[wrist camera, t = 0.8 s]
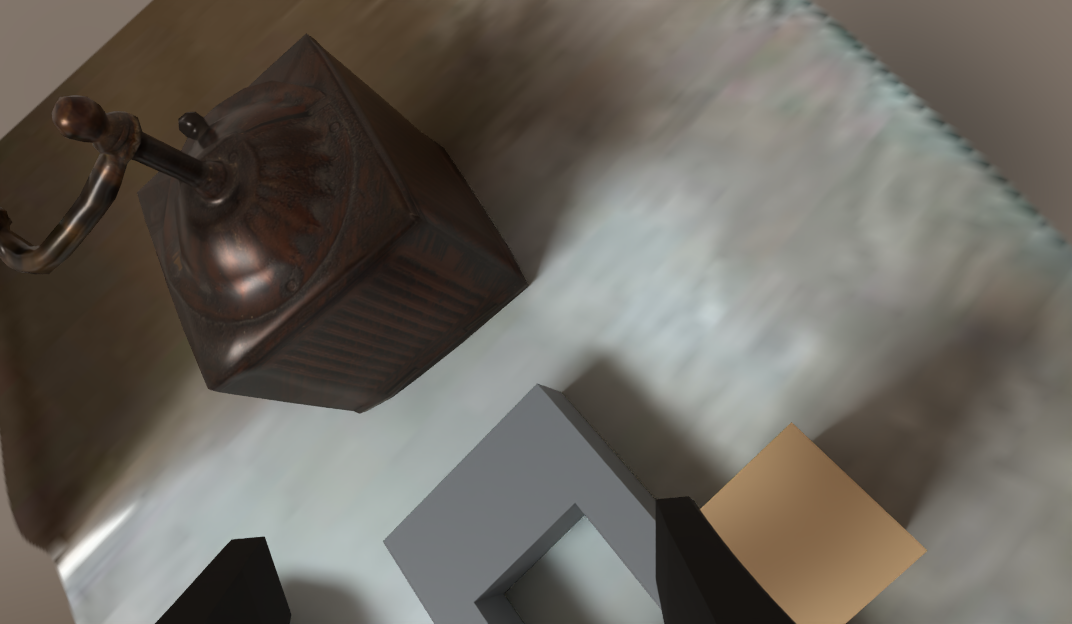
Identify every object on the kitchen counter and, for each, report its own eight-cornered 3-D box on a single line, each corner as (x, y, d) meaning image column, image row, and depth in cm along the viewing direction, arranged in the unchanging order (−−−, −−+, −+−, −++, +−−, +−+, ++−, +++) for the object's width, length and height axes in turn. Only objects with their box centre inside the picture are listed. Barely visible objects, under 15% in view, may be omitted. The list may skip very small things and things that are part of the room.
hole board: (827, 696, 22) (825, 718, 20) (633, 867, 24) (610, 906, 21) (561, 392, 29) (537, 383, 27) (417, 537, 30) (382, 541, 28)
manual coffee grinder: (430, 125, 35) (84, -182, 19) (536, 287, 30) (194, 59, 15) (222, 308, 38) (-228, 174, 22) (288, 481, 33) (-221, 469, 18)
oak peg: (905, 533, 23) (931, 551, 16) (813, 616, 23) (798, 668, 16) (807, 441, 25) (791, 419, 17) (725, 519, 25) (676, 528, 18)
